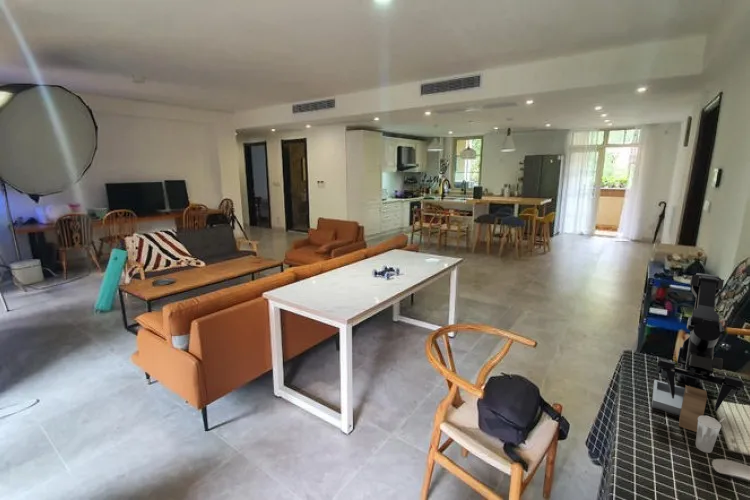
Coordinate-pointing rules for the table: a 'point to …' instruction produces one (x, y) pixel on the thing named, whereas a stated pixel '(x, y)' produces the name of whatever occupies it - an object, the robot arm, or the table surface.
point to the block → (692, 407)
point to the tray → (667, 398)
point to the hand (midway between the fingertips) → (693, 404)
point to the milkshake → (707, 433)
